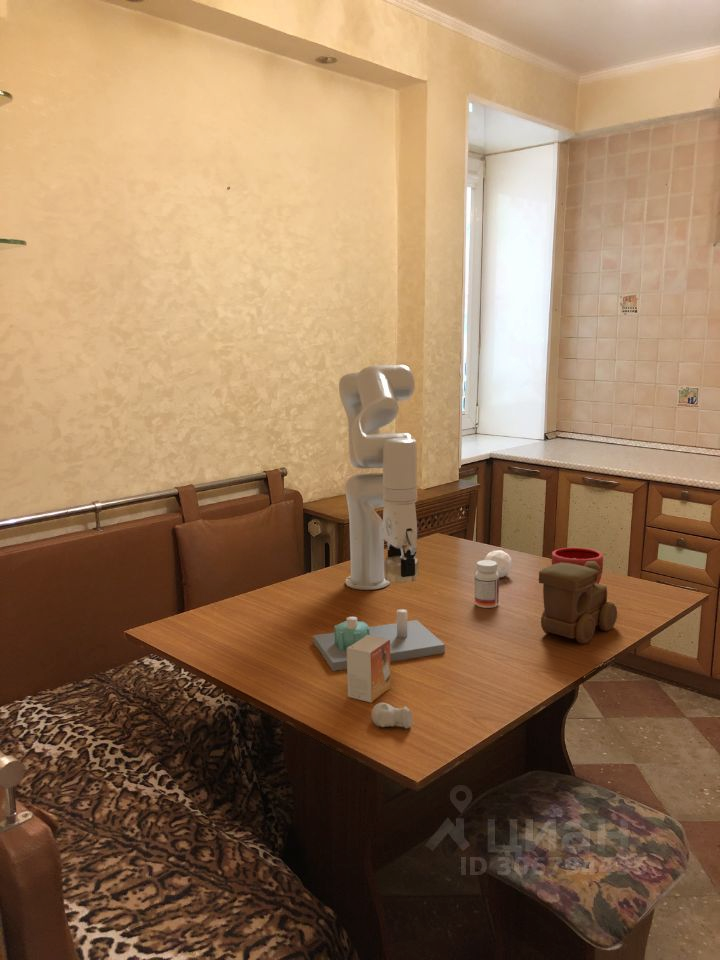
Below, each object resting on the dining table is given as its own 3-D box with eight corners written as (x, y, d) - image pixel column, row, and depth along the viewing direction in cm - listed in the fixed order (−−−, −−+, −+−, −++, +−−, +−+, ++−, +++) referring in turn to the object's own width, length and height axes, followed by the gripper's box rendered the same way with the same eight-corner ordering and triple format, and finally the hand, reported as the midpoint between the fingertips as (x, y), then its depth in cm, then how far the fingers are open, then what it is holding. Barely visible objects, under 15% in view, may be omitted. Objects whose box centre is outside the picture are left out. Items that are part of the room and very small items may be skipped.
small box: (371, 703, 154) (370, 653, 152) (347, 697, 157) (345, 647, 155) (391, 687, 161) (390, 638, 159) (368, 681, 164) (367, 633, 162)
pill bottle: (485, 598, 211) (486, 557, 209) (503, 604, 206) (504, 562, 204) (469, 604, 207) (469, 562, 205) (487, 610, 202) (488, 567, 200)
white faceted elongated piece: (484, 570, 223) (470, 563, 235) (507, 585, 225) (492, 577, 236) (499, 547, 223) (484, 541, 235) (521, 562, 225) (506, 555, 237)
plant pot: (612, 597, 210) (613, 553, 208) (578, 607, 203) (580, 562, 200) (573, 584, 221) (574, 542, 218) (540, 594, 213) (541, 551, 211)
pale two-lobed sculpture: (367, 730, 147) (381, 711, 151) (404, 741, 142) (418, 722, 146) (362, 712, 145) (377, 694, 149) (400, 723, 141) (413, 704, 144)
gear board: (313, 643, 184) (312, 610, 182) (416, 627, 192) (416, 596, 191) (333, 671, 169) (332, 636, 168) (444, 652, 177) (444, 618, 176)
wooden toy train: (577, 651, 176) (579, 580, 173) (533, 638, 184) (534, 569, 181) (621, 626, 190) (623, 559, 187) (578, 615, 198) (580, 550, 195)
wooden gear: (379, 574, 182) (379, 558, 181) (411, 570, 184) (411, 554, 183) (391, 584, 175) (390, 567, 174) (423, 580, 177) (423, 563, 176)
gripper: (371, 488, 183) (372, 562, 186) (398, 504, 166) (399, 584, 170) (401, 485, 185) (402, 558, 188) (431, 500, 169) (432, 580, 172)
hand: (401, 570), depth 179 cm, fingers closed on wooden gear, 7 cm apart
